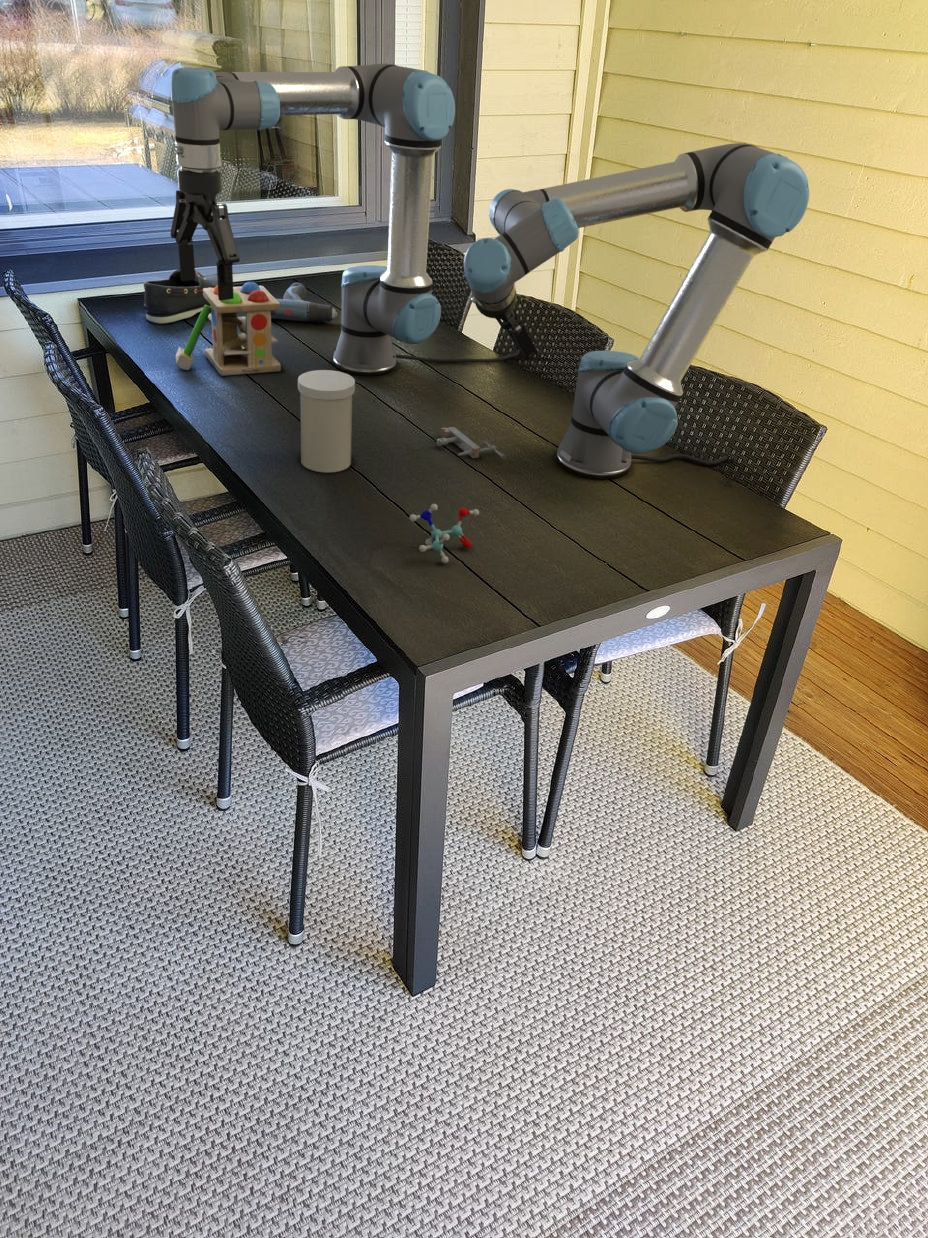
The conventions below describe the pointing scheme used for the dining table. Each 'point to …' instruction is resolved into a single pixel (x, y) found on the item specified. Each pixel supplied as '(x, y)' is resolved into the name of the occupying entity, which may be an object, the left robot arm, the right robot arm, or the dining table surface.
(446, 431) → the clamp
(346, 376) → the lid
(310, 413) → the jar
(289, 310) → the power drill
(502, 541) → the dining table surface
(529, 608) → the dining table surface
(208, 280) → the boat shoe
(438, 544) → the molecular model
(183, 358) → the pounding bench toy
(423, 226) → the left robot arm
